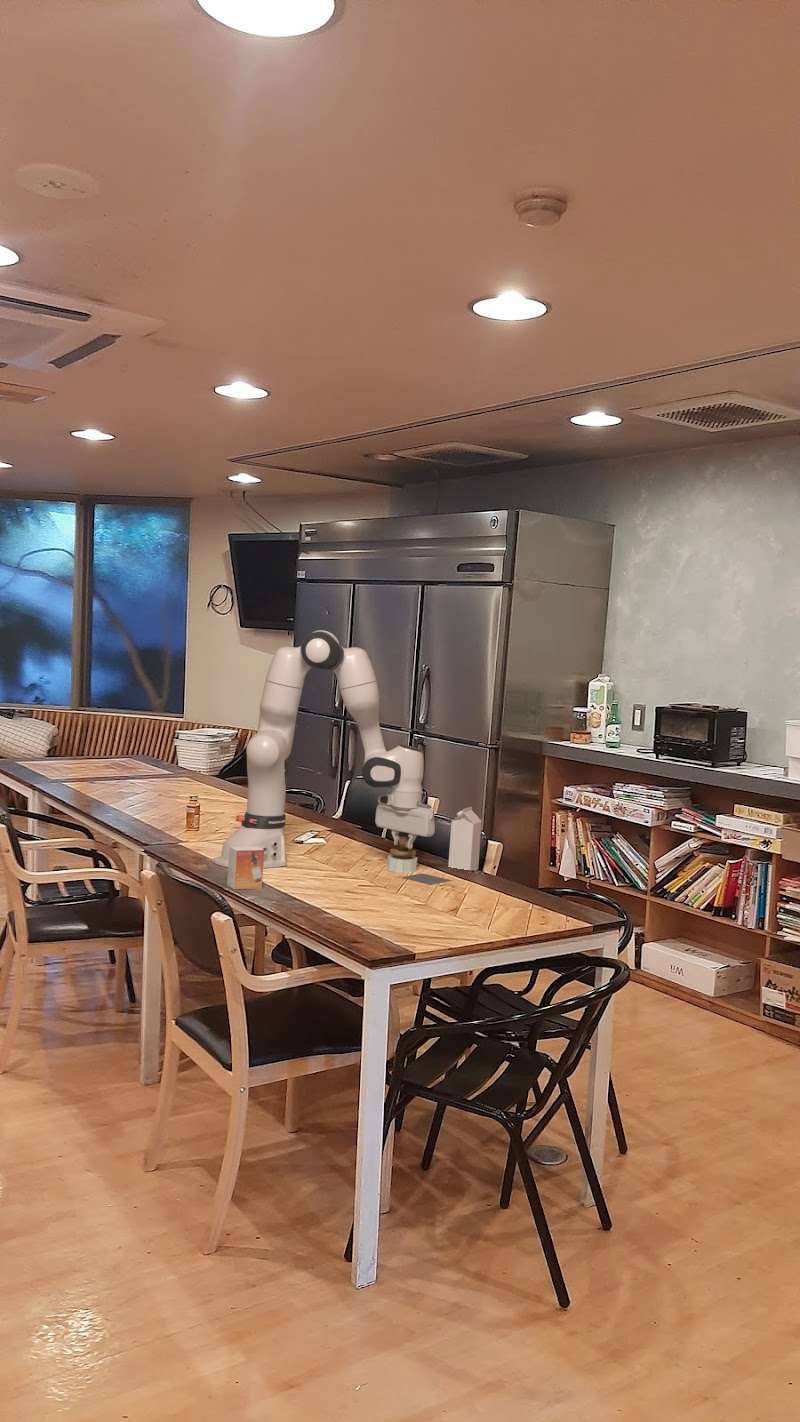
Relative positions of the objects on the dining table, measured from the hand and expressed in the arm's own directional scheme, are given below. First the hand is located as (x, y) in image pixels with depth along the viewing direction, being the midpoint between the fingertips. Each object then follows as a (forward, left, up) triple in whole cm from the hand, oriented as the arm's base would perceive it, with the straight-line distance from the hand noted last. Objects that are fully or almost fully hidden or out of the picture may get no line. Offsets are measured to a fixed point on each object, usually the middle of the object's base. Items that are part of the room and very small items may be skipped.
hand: (403, 846), depth 322 cm
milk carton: (+17, -10, -7) cm, 21 cm away
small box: (-53, +10, -7) cm, 54 cm away
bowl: (0, 0, -7) cm, 7 cm away
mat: (-4, -13, -7) cm, 15 cm away
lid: (0, 0, -2) cm, 2 cm away
